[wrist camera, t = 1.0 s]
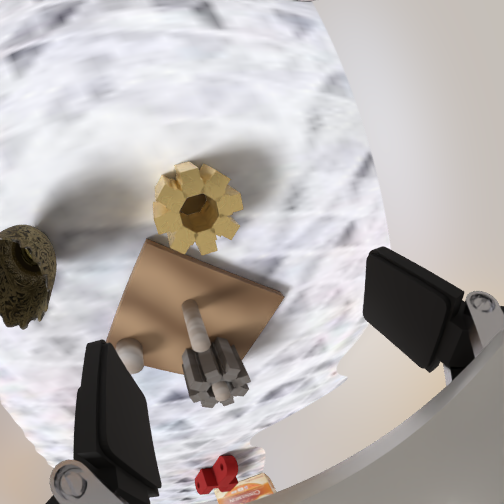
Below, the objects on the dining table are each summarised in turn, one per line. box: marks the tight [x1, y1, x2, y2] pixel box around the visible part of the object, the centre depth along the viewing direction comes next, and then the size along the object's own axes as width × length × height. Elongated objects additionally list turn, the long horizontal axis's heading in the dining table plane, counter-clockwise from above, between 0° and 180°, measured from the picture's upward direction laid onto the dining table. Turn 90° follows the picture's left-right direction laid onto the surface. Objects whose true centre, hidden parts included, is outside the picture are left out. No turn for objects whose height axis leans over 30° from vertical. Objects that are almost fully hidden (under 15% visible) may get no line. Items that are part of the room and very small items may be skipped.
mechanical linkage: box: [195, 455, 238, 495], centre depth 45 cm, size 16×7×5 cm, turn 158°
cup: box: [0, 225, 57, 330], centre depth 17 cm, size 8×7×8 cm
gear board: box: [106, 238, 284, 408], centre depth 27 cm, size 14×16×7 cm
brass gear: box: [153, 161, 243, 255], centre depth 22 cm, size 7×7×5 cm
